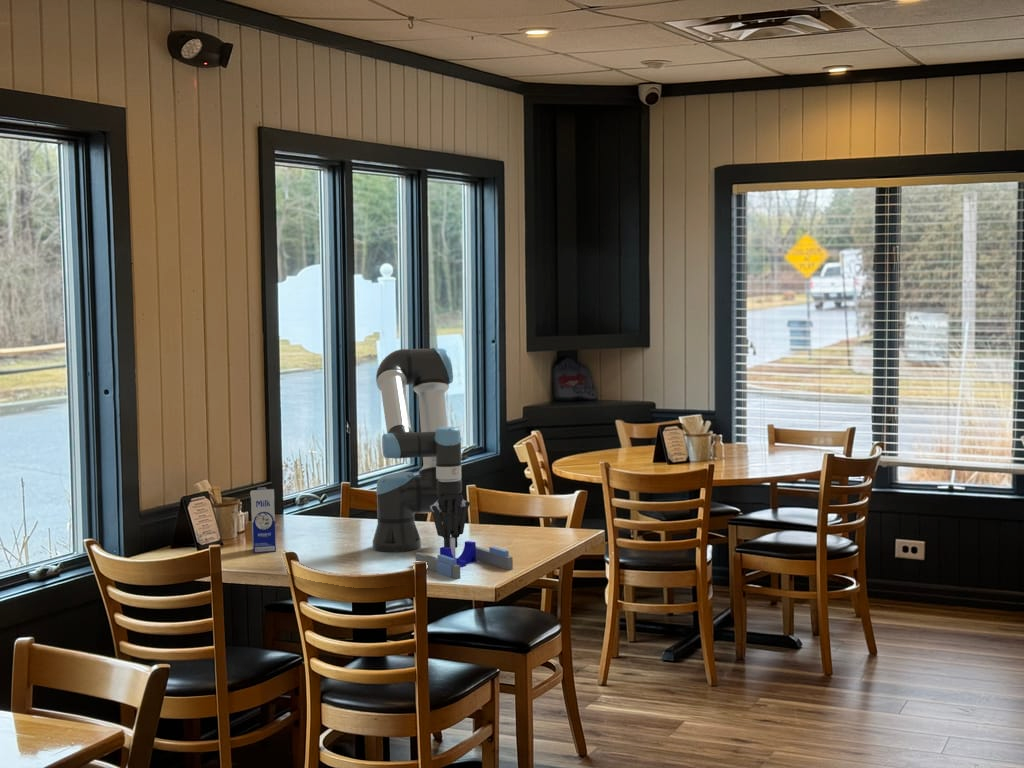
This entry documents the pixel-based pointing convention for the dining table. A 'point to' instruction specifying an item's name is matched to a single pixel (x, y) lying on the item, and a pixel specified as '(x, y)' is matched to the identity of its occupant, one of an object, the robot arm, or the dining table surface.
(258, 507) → the milk carton
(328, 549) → the dining table surface
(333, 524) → the dining table surface
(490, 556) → the blue grey block group
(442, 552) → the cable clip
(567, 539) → the dining table surface
